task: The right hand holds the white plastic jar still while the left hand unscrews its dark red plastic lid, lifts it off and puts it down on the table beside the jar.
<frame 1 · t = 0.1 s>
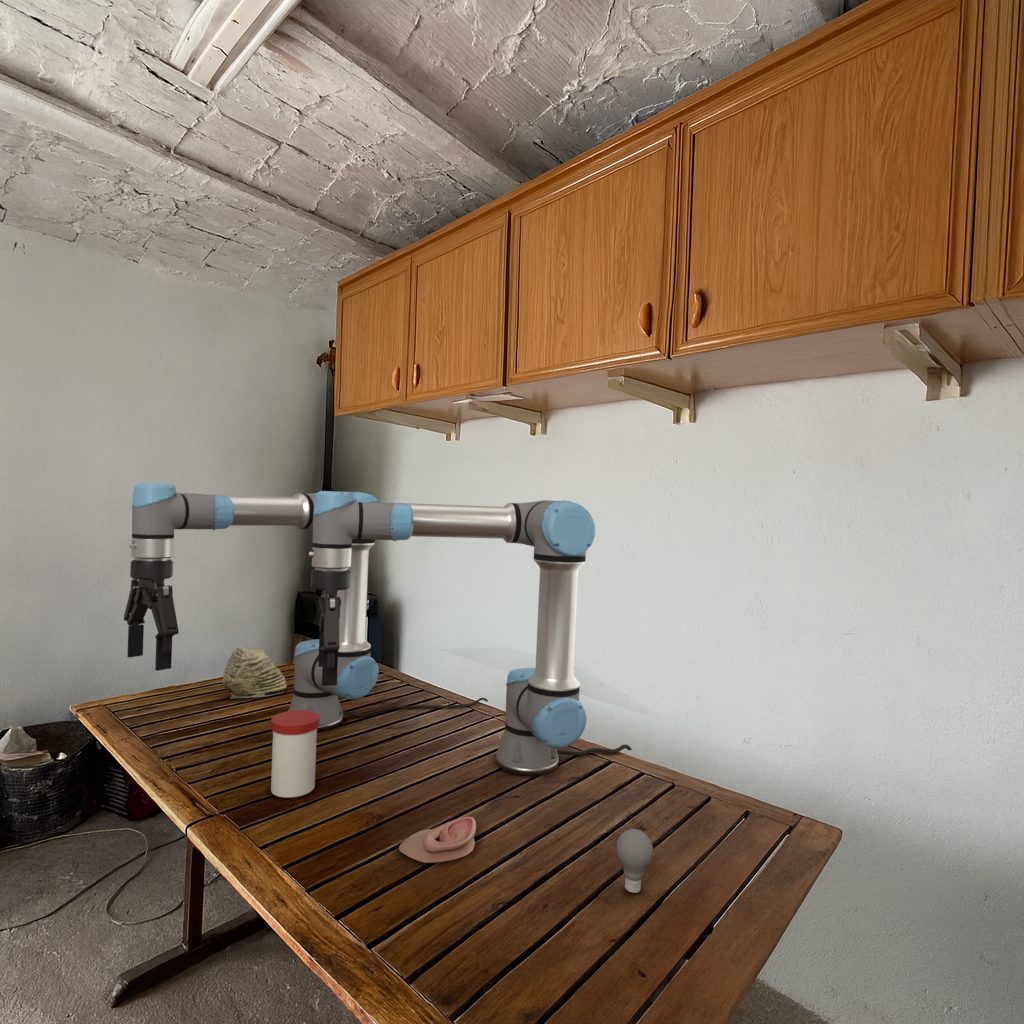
left hand: (148, 662, 129), 28 cm above the table, tool pointing down, fingers open, 13 cm apart
right hand: (327, 675, 126), 28 cm above the table, tool pointing down, fingers open, 13 cm apart
fossil: (254, 694, 198), on the table
light bulb: (632, 891, 106), on the table
anatomical model: (437, 847, 116), on the table
jar: (293, 787, 137), on the table
lid: (295, 719, 137), point 15 cm above the table, screwed on, not yet turned
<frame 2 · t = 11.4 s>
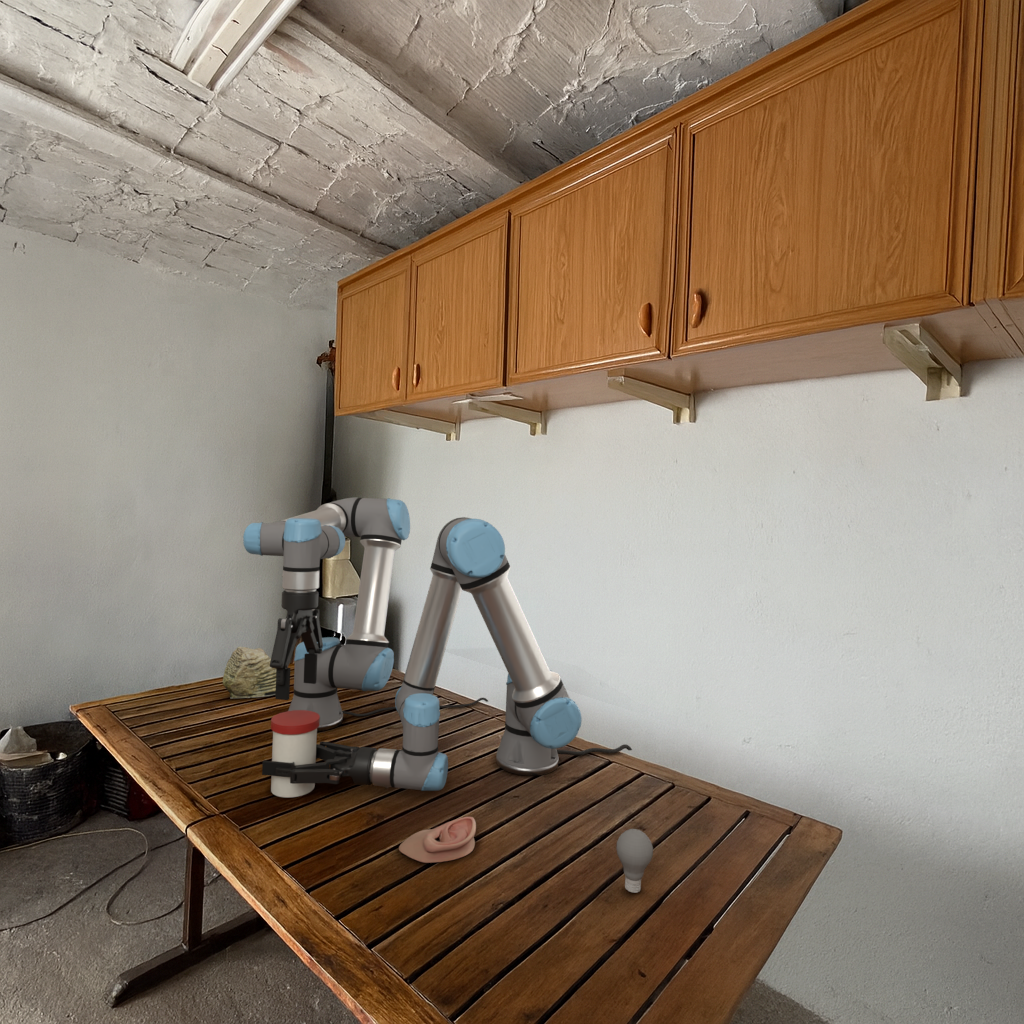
left hand: (296, 690, 137), 21 cm above the table, tool pointing down, fingers open, 11 cm apart
right hand: (274, 758, 138), 6 cm above the table, tool horizontal, fingers closed on jar, 9 cm apart
jar: (293, 787, 137), on the table, touching right hand
everything else where it was.
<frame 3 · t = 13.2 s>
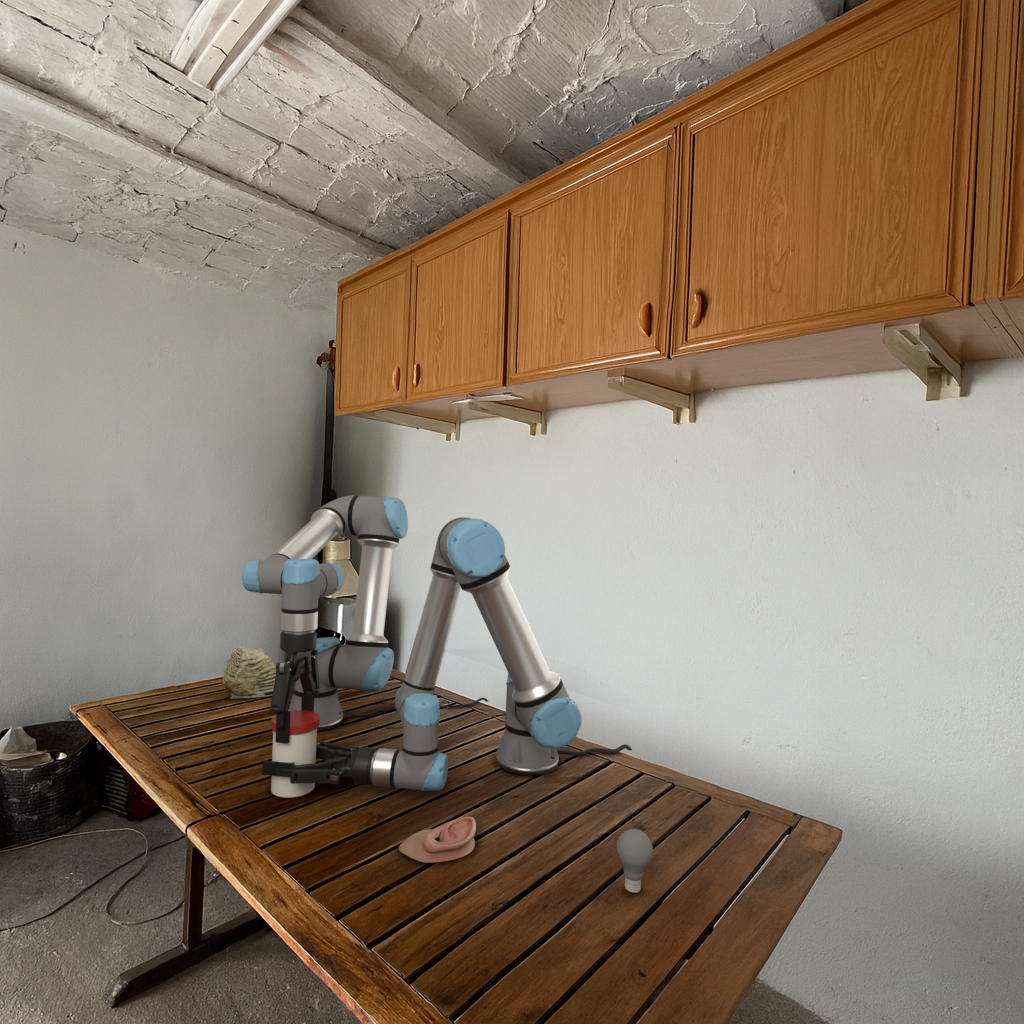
left hand: (295, 733, 137), 12 cm above the table, tool pointing down, fingers closed on lid, 10 cm apart
right hand: (274, 758, 138), 6 cm above the table, tool horizontal, fingers closed on jar, 9 cm apart
jar: (293, 787, 137), on the table, touching right hand
lid: (295, 719, 137), point 15 cm above the table, screwed on, not yet turned, touching left hand
everything else where it was.
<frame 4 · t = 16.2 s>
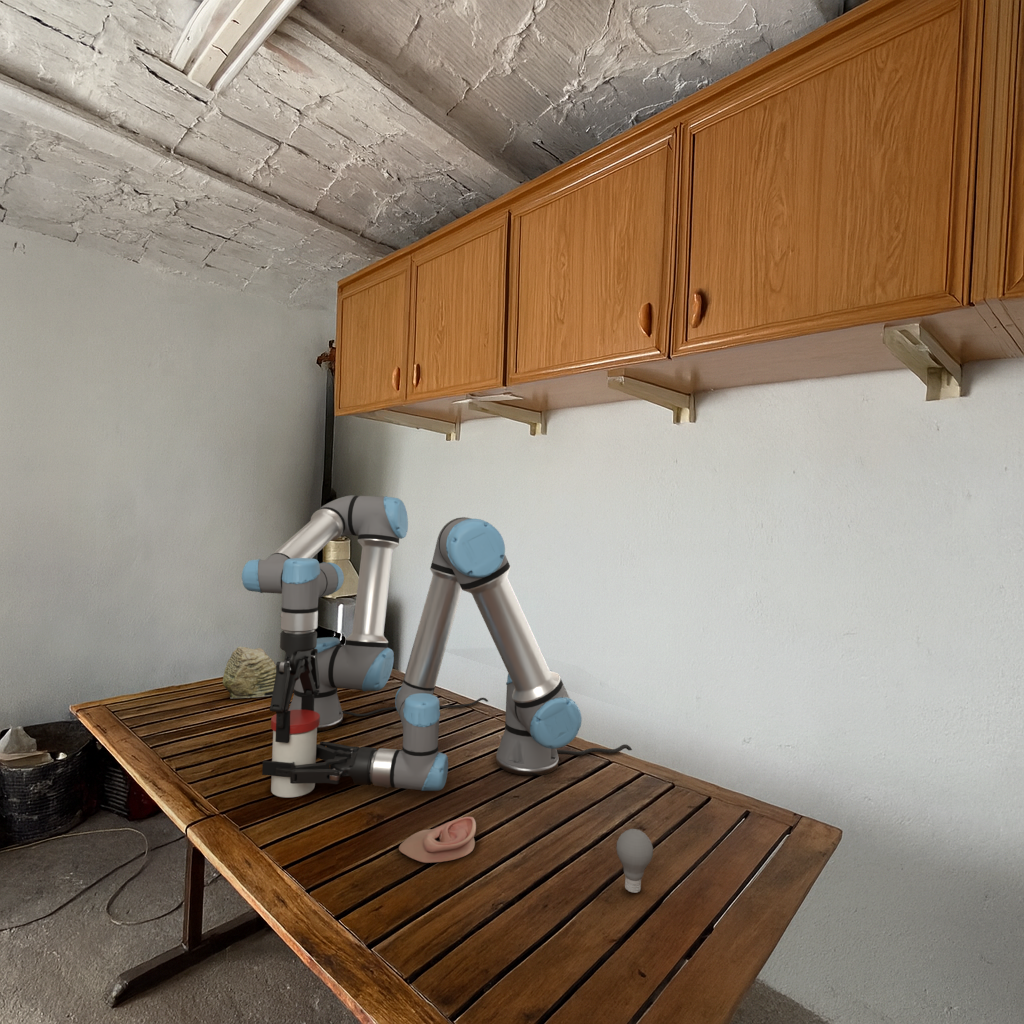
left hand: (295, 732, 137), 12 cm above the table, tool pointing down, fingers closed on lid, 10 cm apart
right hand: (274, 758, 138), 6 cm above the table, tool horizontal, fingers closed on jar, 9 cm apart
jar: (293, 787, 137), on the table, touching right hand
lid: (295, 718, 137), point 15 cm above the table, turned 62° so far, risen 0.2 cm, still on its thread, touching left hand
everything else where it was.
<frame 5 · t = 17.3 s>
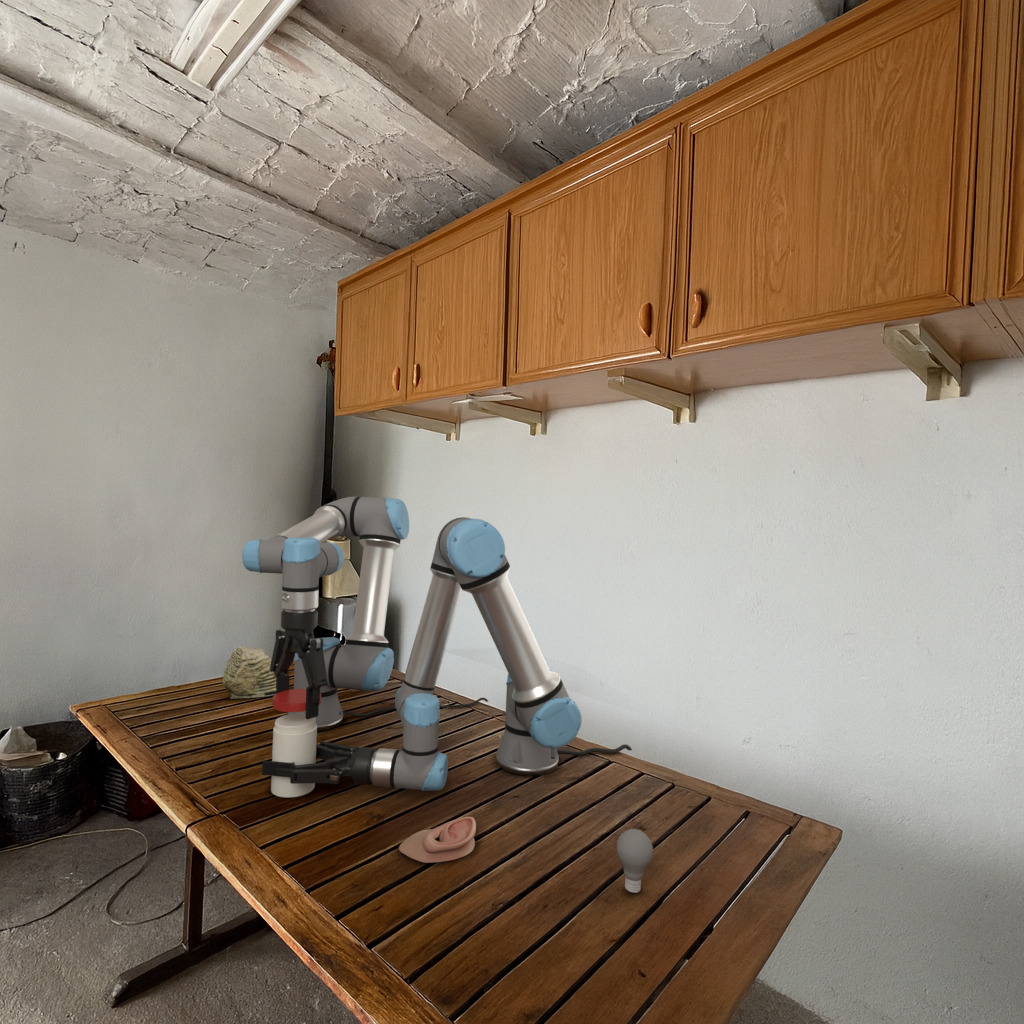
left hand: (296, 711, 137), 17 cm above the table, tool pointing down, fingers closed on lid, 10 cm apart
right hand: (274, 758, 138), 6 cm above the table, tool horizontal, fingers closed on jar, 9 cm apart
jar: (293, 787, 137), on the table, touching right hand
lid: (297, 697, 137), point 20 cm above the table, off its thread, touching left hand
everything else where it was.
when the left hand's fingers open (0 cm above the table, at t = 22.4 s): lid drops 2 cm, point 1 cm above the table.
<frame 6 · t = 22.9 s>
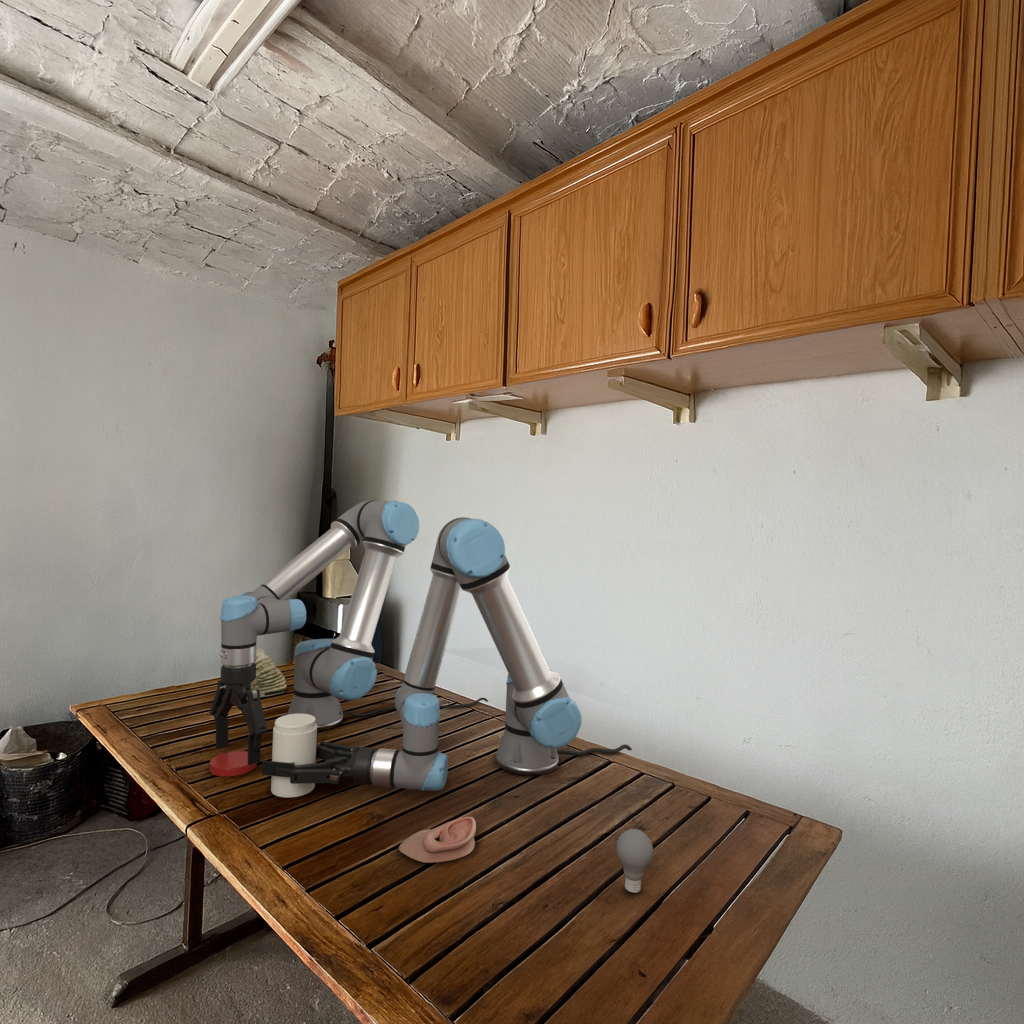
left hand: (237, 754, 147), 3 cm above the table, tool pointing down, fingers open, 13 cm apart
right hand: (274, 758, 138), 6 cm above the table, tool horizontal, fingers closed on jar, 9 cm apart
jar: (293, 787, 137), on the table, touching right hand
lid: (233, 760, 146), point 1 cm above the table, off its thread
everything else where it was.
when the right hand's fingers open (6 cm above the table, at t = 23.4 s): jar stays where it is, on the table.
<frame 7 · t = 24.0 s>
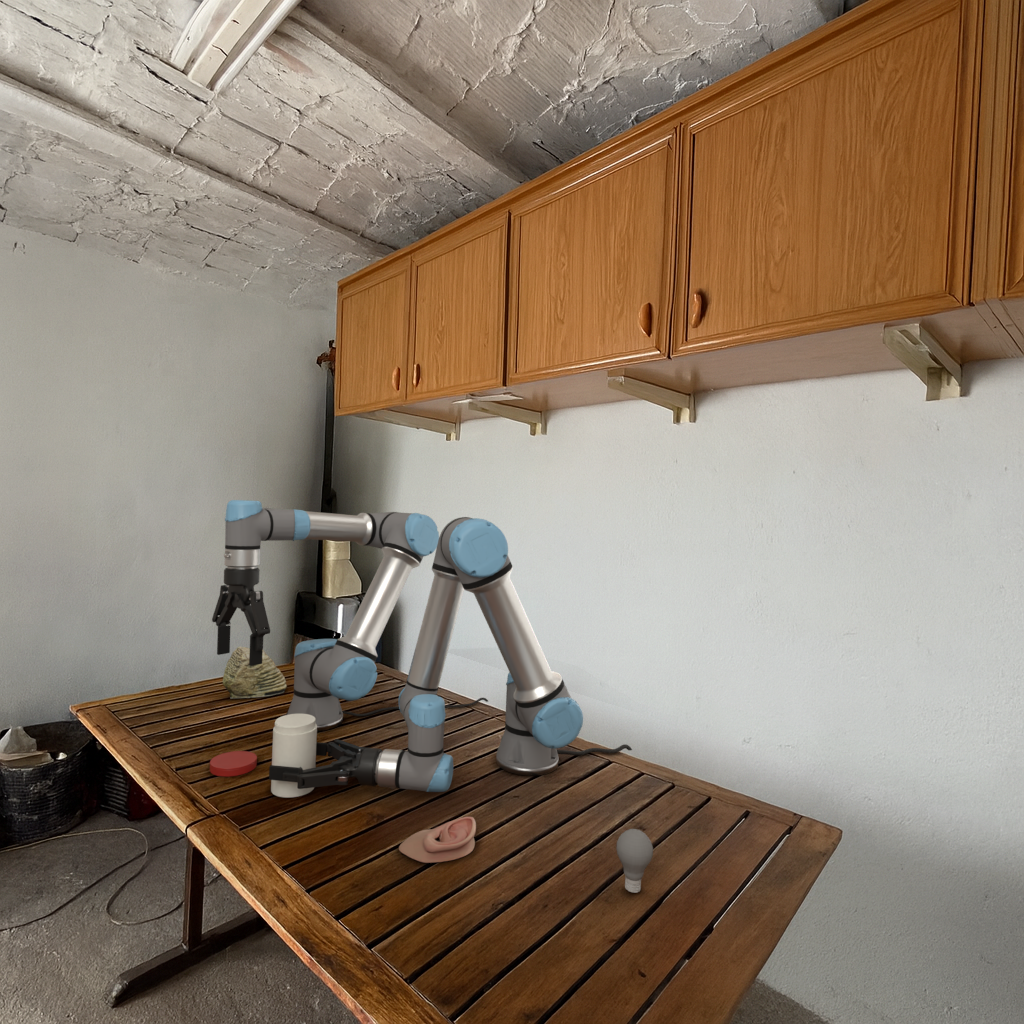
left hand: (239, 659, 146), 25 cm above the table, tool pointing down, fingers open, 13 cm apart
right hand: (284, 759, 137), 6 cm above the table, tool horizontal, fingers open, 13 cm apart
jar: (293, 787, 137), on the table
everything else where it was.
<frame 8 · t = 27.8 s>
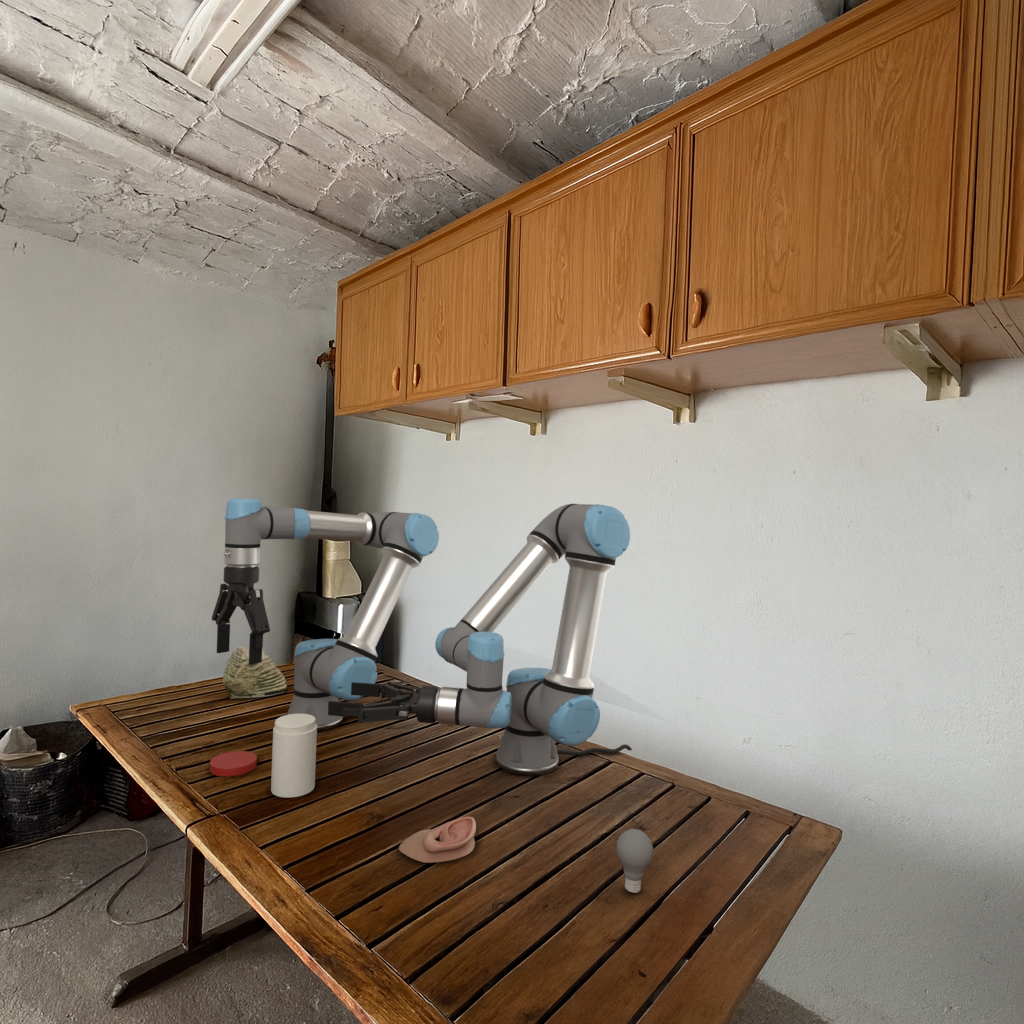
left hand: (238, 657, 146), 25 cm above the table, tool pointing down, fingers open, 13 cm apart
right hand: (340, 697, 136), 20 cm above the table, tool horizontal, fingers open, 13 cm apart
nothing on the table moved.
at the end: lid came off its thread; lid point 1.5 cm above the table; the left hand is holding nothing; the right hand is holding nothing; jar tilted 0°; jar moved 0.0 cm from its start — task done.
